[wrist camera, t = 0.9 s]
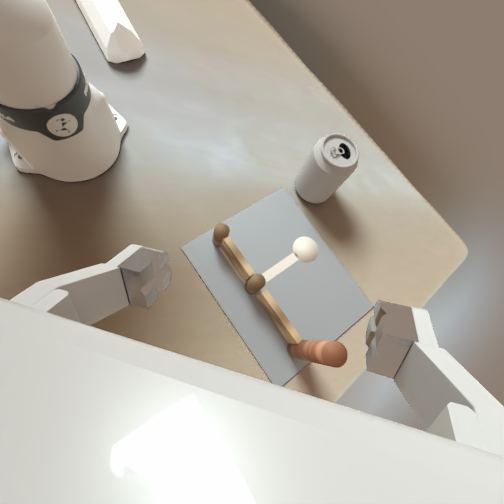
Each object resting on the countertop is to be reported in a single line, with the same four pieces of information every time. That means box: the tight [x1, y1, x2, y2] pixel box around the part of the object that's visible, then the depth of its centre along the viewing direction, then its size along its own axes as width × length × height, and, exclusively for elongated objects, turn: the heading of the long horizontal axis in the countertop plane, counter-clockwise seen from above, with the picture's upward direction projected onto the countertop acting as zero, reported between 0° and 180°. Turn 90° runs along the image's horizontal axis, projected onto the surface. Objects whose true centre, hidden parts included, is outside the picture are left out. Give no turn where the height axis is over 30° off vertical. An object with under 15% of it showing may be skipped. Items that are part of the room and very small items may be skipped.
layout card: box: [181, 187, 374, 386], centre depth 48 cm, size 27×22×1 cm
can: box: [295, 133, 359, 203], centre depth 49 cm, size 8×8×12 cm
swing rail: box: [255, 289, 347, 367], centre depth 39 cm, size 12×3×14 cm, turn 36°
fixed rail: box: [212, 223, 266, 294], centre depth 45 cm, size 12×2×5 cm, turn 36°
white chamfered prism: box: [76, 0, 145, 63], centre depth 55 cm, size 7×7×24 cm
